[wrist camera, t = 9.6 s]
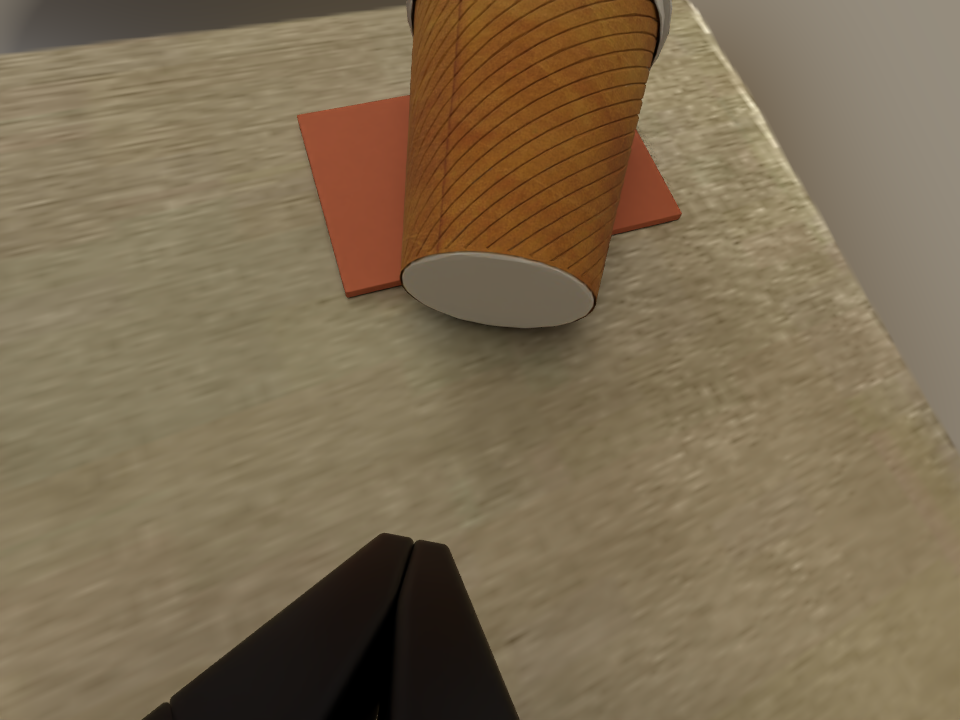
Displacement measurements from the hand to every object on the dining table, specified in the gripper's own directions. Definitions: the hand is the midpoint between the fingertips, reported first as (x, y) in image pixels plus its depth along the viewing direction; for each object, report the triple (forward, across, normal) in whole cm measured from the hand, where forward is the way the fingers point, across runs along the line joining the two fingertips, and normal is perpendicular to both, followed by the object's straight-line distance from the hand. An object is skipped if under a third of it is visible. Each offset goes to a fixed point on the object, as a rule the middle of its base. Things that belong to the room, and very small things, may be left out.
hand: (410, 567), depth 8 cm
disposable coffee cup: (+13, 0, 0) cm, 13 cm away
